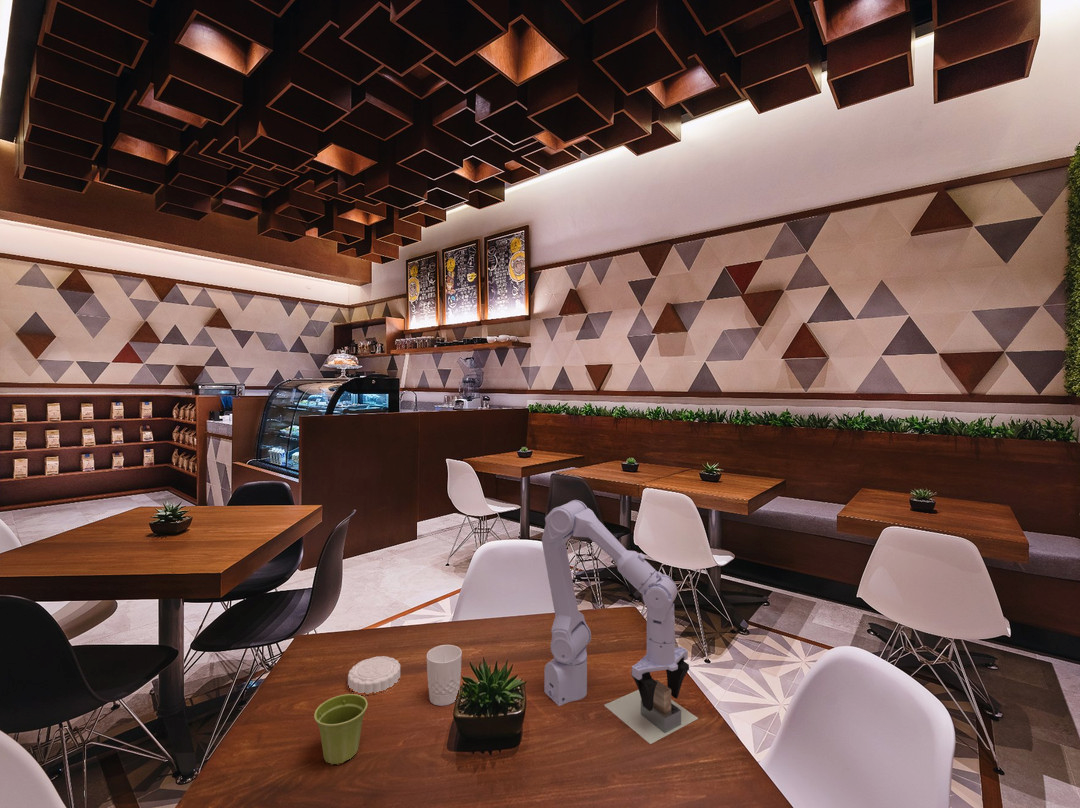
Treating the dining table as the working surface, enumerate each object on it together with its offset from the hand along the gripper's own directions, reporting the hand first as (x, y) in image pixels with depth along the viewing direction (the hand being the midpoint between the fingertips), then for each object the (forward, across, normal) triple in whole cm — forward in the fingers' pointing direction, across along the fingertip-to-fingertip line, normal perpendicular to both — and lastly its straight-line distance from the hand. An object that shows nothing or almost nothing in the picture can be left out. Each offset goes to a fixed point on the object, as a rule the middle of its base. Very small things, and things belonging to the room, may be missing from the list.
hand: (660, 701), depth 99 cm
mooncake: (+5, -47, +48) cm, 67 cm away
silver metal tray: (+5, 0, 0) cm, 5 cm away
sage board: (+5, 0, +3) cm, 6 cm away
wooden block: (+4, 0, 0) cm, 4 cm away
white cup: (+5, -35, +33) cm, 48 cm away
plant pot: (+5, -58, +27) cm, 64 cm away
